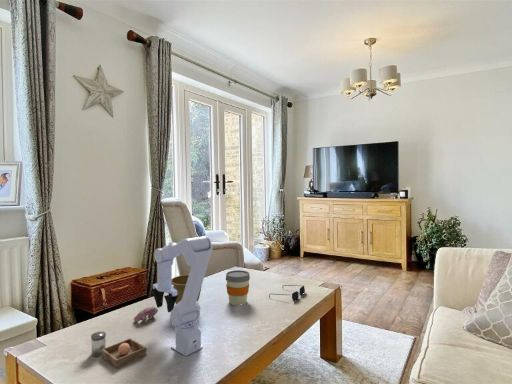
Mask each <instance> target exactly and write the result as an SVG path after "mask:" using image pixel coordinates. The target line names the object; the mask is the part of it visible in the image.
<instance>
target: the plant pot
mask: <svg viewBox="0 0 512 384" xmlns="http://www.w3.org/2000/svg"><path fill="white" fill-rule="evenodd" d="M188 277H189V274H183V275H177V276H173V278H172V285H174V287H173V288H174V289H175V290H177V294H178V297H177V299H176V302H175V305H176V304H177V303H178V302H180V301H181V300H182V297H183V293H184V290H185V287H186V283H187V280H188ZM201 290H202V288H201V289H200V292H199V295H198V298H197V302H198V303H199V300H200V296H201V292H202V291H201Z"/></svg>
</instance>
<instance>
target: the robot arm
mask: <svg viewBox="0 0 512 384" xmlns="http://www.w3.org/2000/svg"><path fill="white" fill-rule="evenodd" d="M212 252H213V244H212V241H211V239H210V237H209V236H208V235H203V236H198V237H195V236H194V237H191V238H183V239H180V241H178V242H174V241H170V242H168V244H166V245H163V247H160V248H158V247H157V248H156V249H155V250H154V253H153V254H154V260H155V262H156V264H157V267H156V268H157V269H156V271H157V273H156V274H157V282H156V283H154V284H153V283H152V289H153V290H151V291H150V292H151V295H152V296H153V298H154V301H155V304H156V308H157V309H159V308H161V307H163V303H164V299H165V302H166V310H167V311H166V312H167V313H170V315H169V317H170V318H169V319H170V322H171V324H172V326H174V327H175V343H174V344H173V345H171V346H170V348H171V349H173V350H175V351H176V352H178V353H180V354H181V355H183V356H185V357H187V356H189V355H191V354H193V353H195V352H197V351H199V350H201V349H203V345H202V339H201V338H202V334H201V333H202V331H201V330H200V329H199V328H198V327H197V325H196V324H197V321H198V320H199V318H200V315H201V313H200V312H201V305H200V303H199V301H198V302H197V298H198V295H199V292H200V289H201V290H202V285H203V283H204V279H205V275H206V273H207V270H208V266H209V265H208V264H209V260H210V257H211V255H212ZM181 253H182V256H183V259H184V262H185V263H186V265H187V266H188V267H190V269H189V273H188V275H189V277H188V280H187V283H186V287H185V290H184V293H183V297H182V300H181V301H180V302H178V303H177V304H176V303H175V302H176V299H177V297H178V294H177V290H175V289H174V288H173V287H174V285H172V279H173V278H172V277H173V273H172V270H173V267H172V266H173V264H174V259H175V258H177V257H179V256H180V255H181ZM165 293H166V294H167V295H165ZM200 293H201V292H200Z"/></svg>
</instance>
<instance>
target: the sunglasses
mask: <svg viewBox="0 0 512 384" xmlns="http://www.w3.org/2000/svg"><path fill="white" fill-rule="evenodd" d="M284 287H300V288H299V291H298V290H296V291H294V292H292V293H291V299H292V301H293V302H294V301H295V300H296V299H298V300H299V298H300V297H299V296H301V295H302V294H303V293H304V294H305V293H306V289H305V285H301V286H300V285H297V284H296V285H295V284H294V285H293V284H289V285H288V284H283V285H282V288H283V289H284ZM282 288H281V289H282ZM272 295H275V296H278V295H279V296H280V295H281V296H289V294H287V293H285V294H284V293H283V294H282V293H272ZM269 297H270V298H271V294H269V295H268V298H269ZM301 297H302V296H301ZM296 301H297V300H296ZM296 301H295V302H296Z"/></svg>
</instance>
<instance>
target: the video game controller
mask: <svg viewBox="0 0 512 384" xmlns="http://www.w3.org/2000/svg"><path fill="white" fill-rule="evenodd" d="M158 309H159V308H157V307H155V306H152V307H146V308H144V309H142V310H140V311H139V312H138V313H137V314H136V316H134V318H133V321H134V322H135V323H138V322H140V321H141V322H145V321H147V319H148V320H151V319H153V317H154V316H155V315H157V313H158V311H159V310H158Z"/></svg>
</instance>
